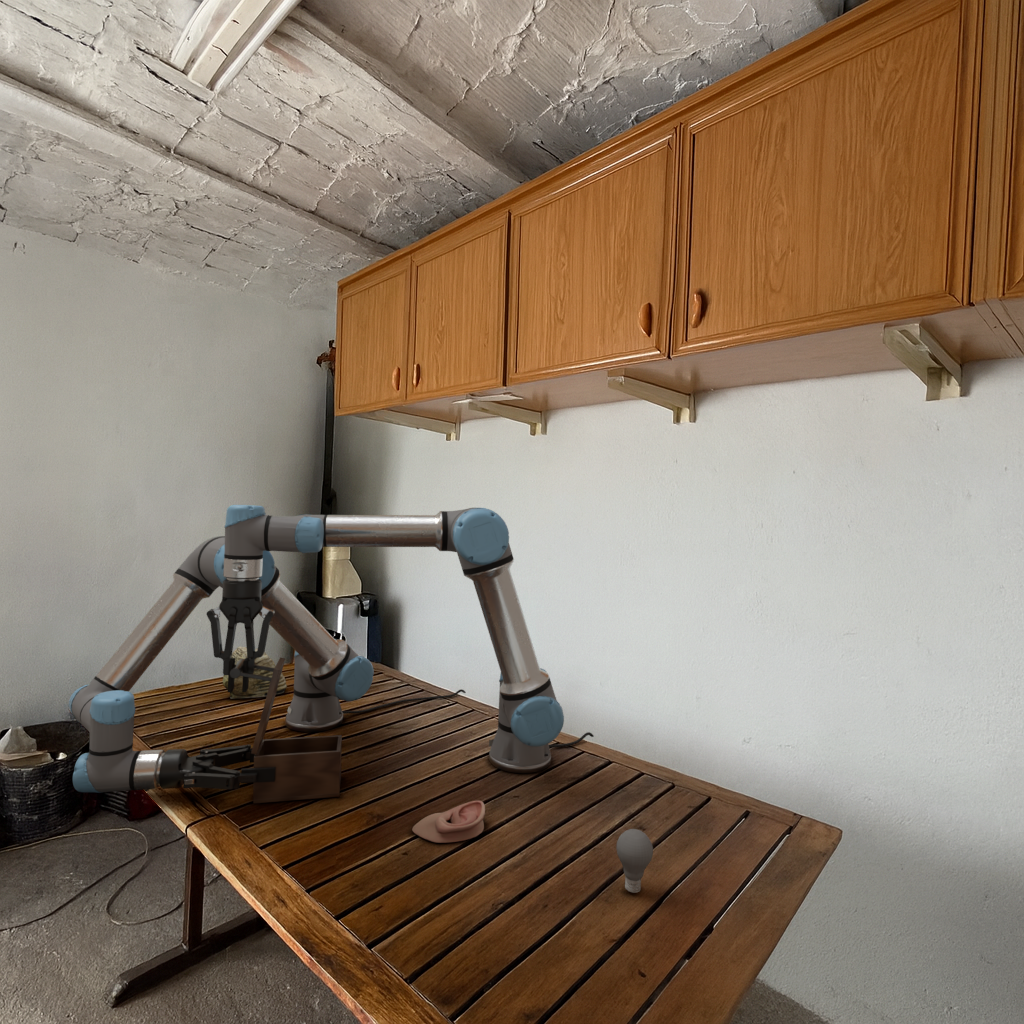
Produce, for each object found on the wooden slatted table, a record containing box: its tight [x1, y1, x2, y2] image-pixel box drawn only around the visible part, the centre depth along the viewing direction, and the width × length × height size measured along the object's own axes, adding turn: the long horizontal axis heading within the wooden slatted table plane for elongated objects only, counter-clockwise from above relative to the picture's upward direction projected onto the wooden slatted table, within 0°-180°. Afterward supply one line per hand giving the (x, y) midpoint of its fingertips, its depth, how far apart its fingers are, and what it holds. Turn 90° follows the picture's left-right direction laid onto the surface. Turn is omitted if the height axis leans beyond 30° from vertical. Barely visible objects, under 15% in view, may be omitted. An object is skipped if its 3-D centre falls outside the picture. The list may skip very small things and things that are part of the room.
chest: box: [252, 734, 343, 804], centre depth 136 cm, size 17×9×10 cm, turn 103°
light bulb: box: [615, 828, 654, 894], centre depth 106 cm, size 6×6×10 cm
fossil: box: [222, 646, 288, 699], centre depth 198 cm, size 9×18×15 cm, turn 132°
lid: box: [230, 657, 286, 754], centre depth 133 cm, size 18×9×9 cm
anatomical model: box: [411, 800, 486, 844], centre depth 123 cm, size 13×4×12 cm
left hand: (278, 764), depth 135 cm, fingers closed on chest, 9 cm apart
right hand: (238, 690), depth 133 cm, fingers closed on lid, 2 cm apart
